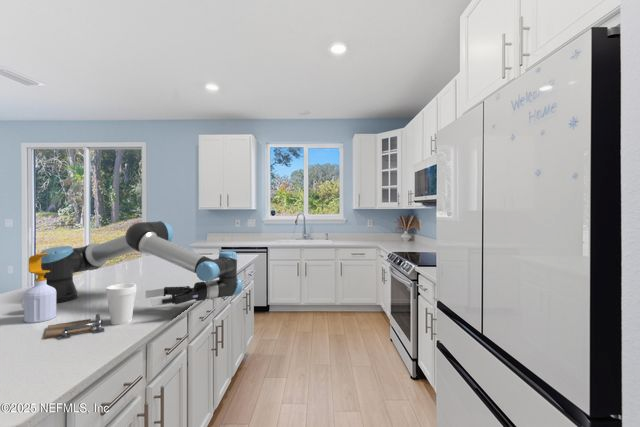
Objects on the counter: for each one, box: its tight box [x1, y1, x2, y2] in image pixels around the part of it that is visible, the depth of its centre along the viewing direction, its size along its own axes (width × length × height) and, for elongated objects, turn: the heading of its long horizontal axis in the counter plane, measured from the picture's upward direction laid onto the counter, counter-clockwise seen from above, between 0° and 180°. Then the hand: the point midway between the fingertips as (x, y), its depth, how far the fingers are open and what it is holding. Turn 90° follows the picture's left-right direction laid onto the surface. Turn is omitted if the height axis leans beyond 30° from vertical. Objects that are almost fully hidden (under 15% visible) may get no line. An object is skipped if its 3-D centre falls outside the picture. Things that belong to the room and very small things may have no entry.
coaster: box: [44, 318, 92, 340], centre depth 109 cm, size 12×12×1 cm
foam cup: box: [105, 282, 138, 326], centre depth 117 cm, size 10×9×13 cm
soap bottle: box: [23, 252, 57, 324], centre depth 119 cm, size 9×9×25 cm
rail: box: [57, 313, 105, 341], centre depth 110 cm, size 13×12×3 cm
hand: (148, 298), depth 122 cm, fingers open, 13 cm apart
